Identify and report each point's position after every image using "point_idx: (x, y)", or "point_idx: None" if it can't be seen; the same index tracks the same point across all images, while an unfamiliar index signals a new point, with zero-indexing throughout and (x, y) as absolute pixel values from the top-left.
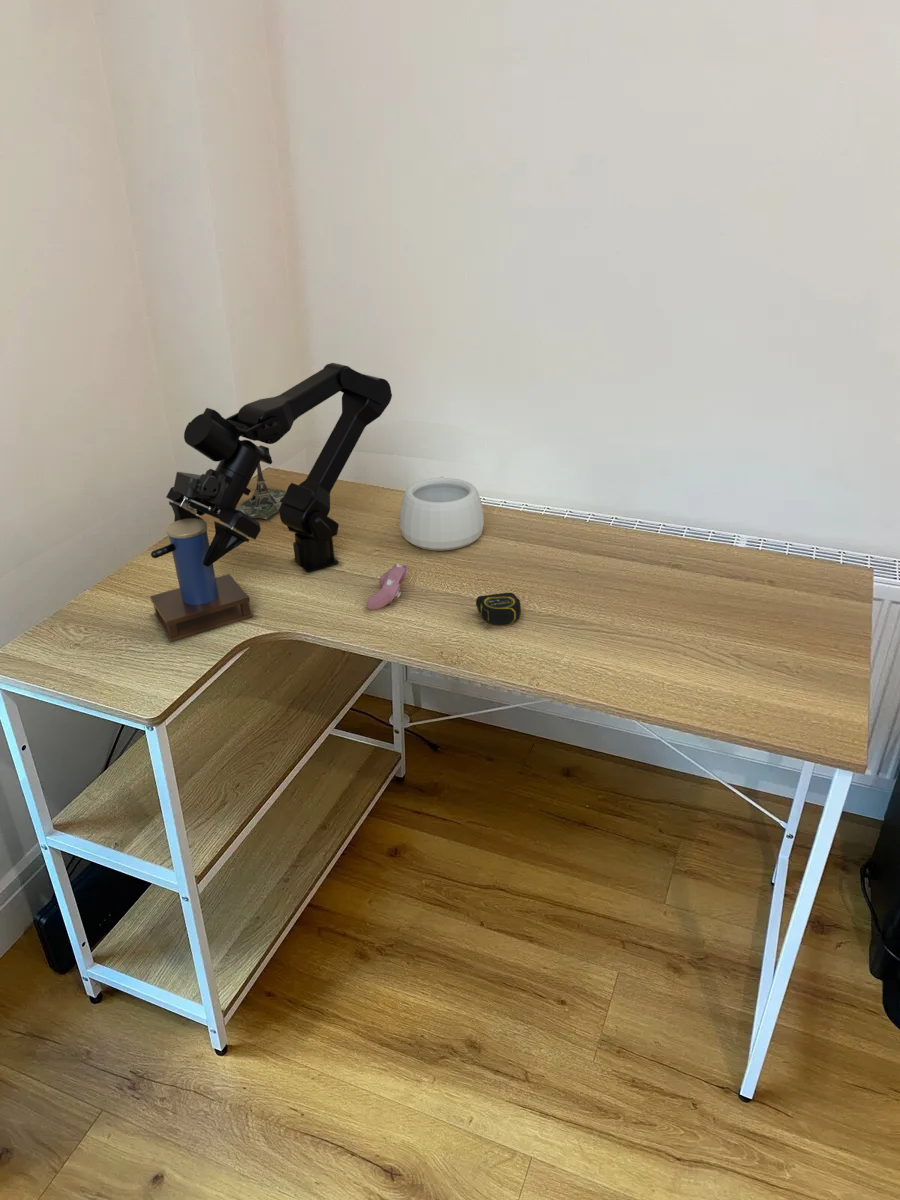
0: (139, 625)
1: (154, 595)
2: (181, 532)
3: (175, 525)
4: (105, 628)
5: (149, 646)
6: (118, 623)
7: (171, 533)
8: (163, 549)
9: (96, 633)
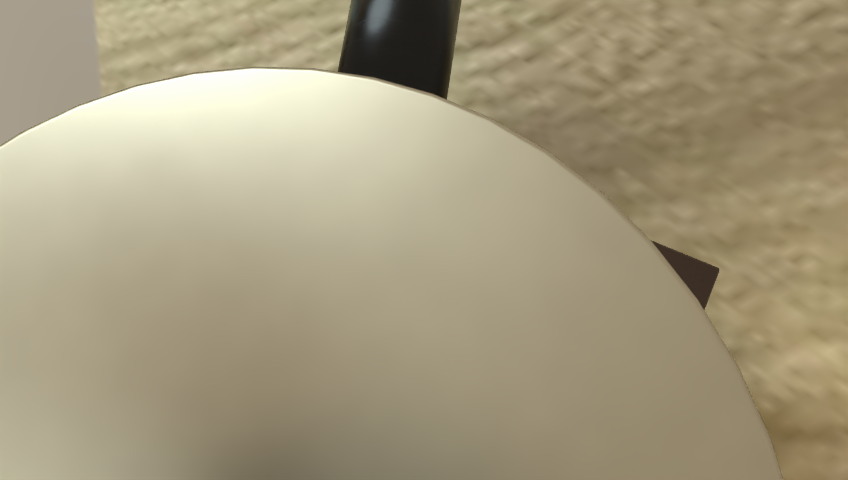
0: (662, 193)
1: (702, 289)
2: (76, 237)
3: (549, 466)
4: (783, 86)
5: (455, 101)
6: (774, 148)
7: (260, 81)
8: (356, 3)
9: (776, 37)
